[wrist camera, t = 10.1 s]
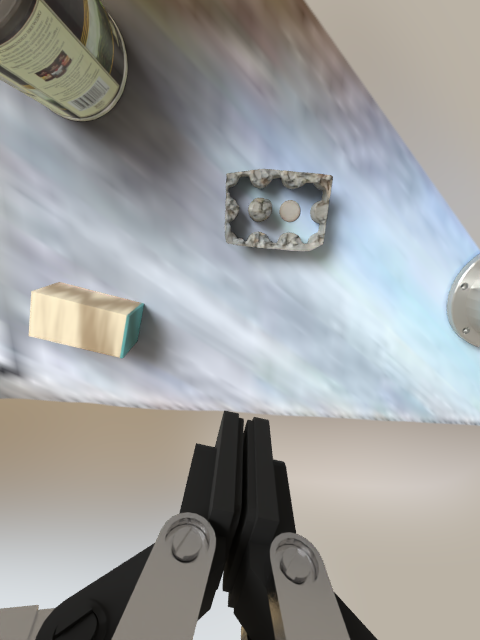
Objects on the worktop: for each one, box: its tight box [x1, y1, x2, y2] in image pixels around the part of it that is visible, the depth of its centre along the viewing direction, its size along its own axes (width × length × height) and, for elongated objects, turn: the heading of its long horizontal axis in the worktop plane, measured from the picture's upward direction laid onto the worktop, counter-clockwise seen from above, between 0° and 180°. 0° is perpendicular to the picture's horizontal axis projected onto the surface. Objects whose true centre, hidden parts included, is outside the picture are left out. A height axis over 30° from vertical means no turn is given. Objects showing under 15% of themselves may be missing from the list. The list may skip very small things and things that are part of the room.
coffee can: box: [0, 0, 127, 121], centre depth 22 cm, size 10×10×14 cm
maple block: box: [29, 282, 144, 358], centre depth 34 cm, size 5×5×10 cm
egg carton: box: [225, 169, 333, 251], centre depth 31 cm, size 11×8×4 cm
